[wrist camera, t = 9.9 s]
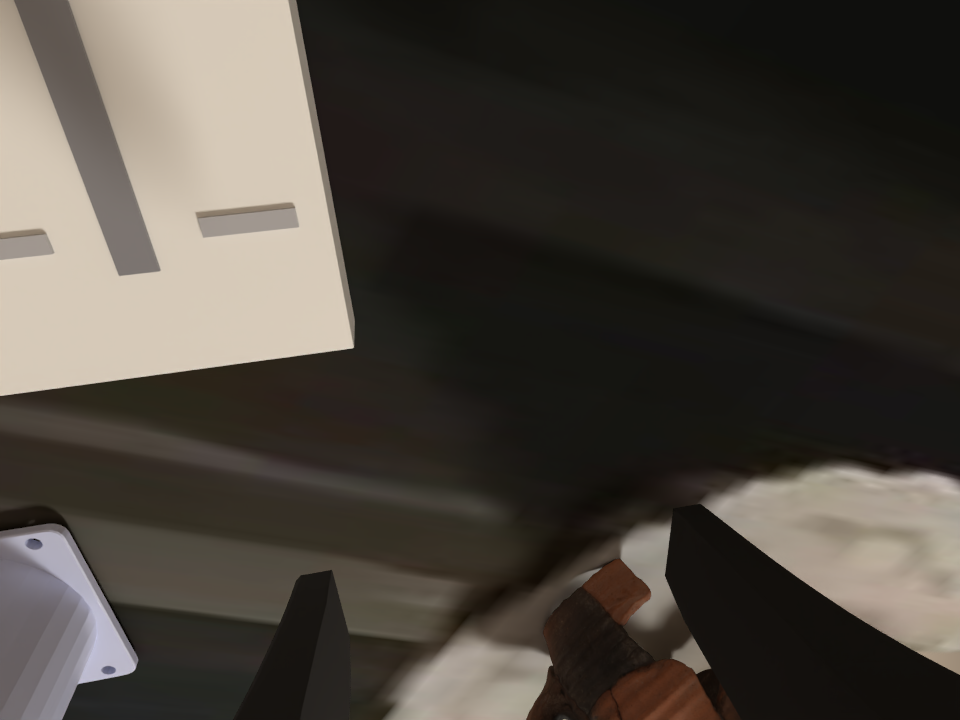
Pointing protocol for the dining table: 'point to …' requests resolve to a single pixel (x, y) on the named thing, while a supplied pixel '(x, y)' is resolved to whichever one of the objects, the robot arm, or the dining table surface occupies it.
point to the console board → (161, 192)
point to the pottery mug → (618, 662)
